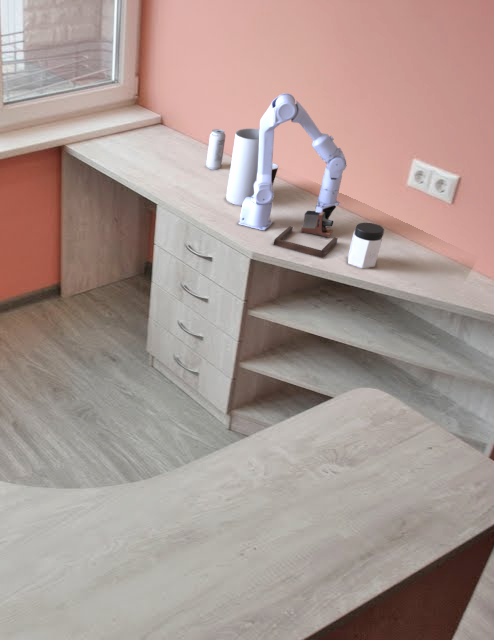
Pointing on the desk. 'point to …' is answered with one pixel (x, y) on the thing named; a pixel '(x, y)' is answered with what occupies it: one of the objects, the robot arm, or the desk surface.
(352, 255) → the jar
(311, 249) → the frame
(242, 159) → the cylinder vase
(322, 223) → the electronic device
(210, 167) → the energy drink can
